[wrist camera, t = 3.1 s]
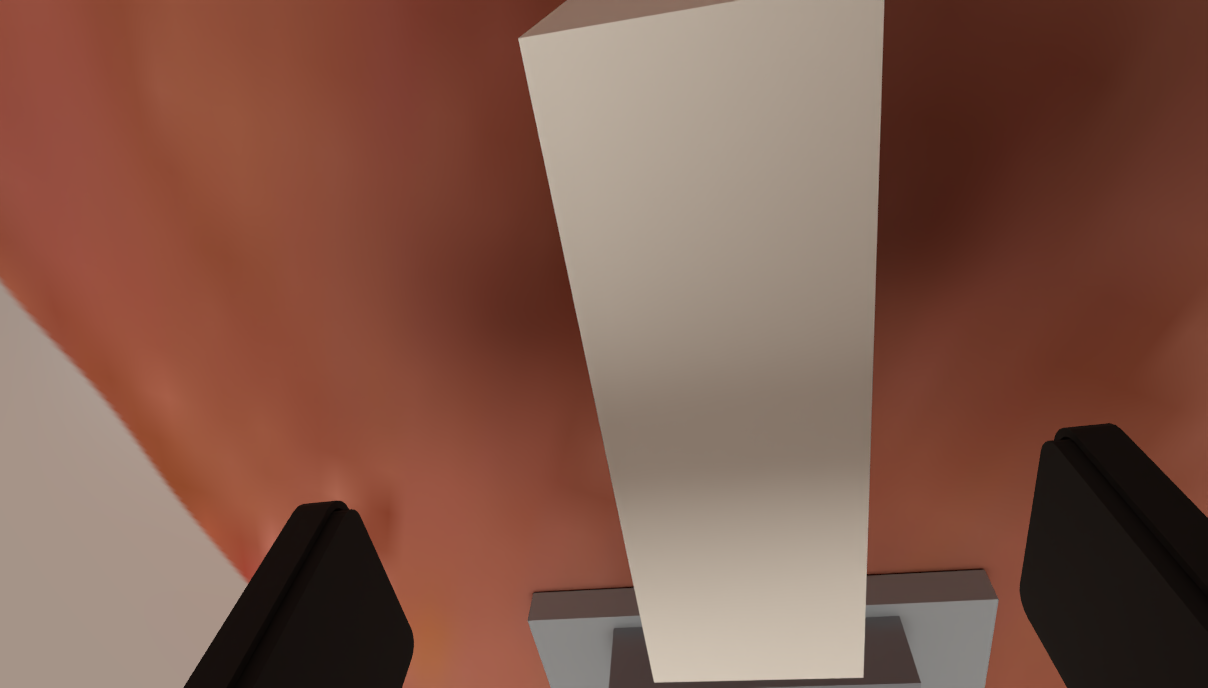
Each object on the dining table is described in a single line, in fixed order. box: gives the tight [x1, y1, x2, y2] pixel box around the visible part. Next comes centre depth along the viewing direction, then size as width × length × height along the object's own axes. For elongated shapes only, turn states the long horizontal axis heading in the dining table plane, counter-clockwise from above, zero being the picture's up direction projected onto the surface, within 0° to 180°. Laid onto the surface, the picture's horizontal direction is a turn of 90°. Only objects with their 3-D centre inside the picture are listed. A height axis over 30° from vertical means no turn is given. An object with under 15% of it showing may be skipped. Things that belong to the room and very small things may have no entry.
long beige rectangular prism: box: [518, 0, 884, 683], centre depth 13 cm, size 4×12×6 cm, turn 9°
